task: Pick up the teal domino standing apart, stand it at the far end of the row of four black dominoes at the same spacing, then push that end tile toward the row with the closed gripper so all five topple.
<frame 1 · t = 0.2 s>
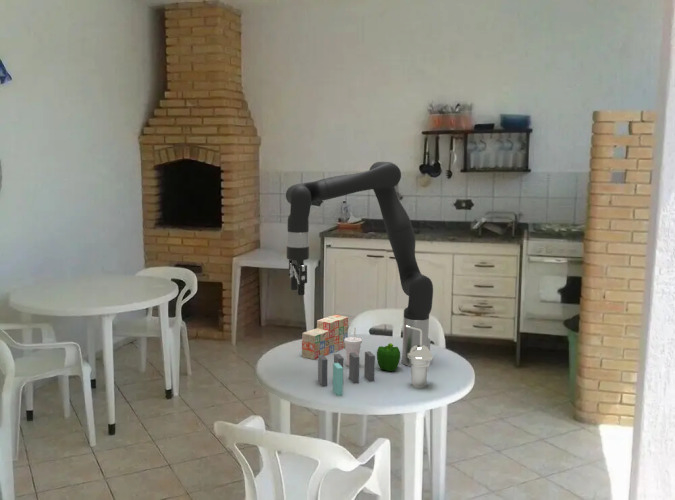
hand: (297, 292, 217), 29 cm above the table, tool pointing down, fingers open, 8 cm apart
domino 4: (322, 383, 213), on the table
bell pepper: (387, 369, 228), on the table
domino 3: (338, 382, 214), on the table
smoothie: (352, 365, 231), on the table
domino 1: (369, 379, 217), on the table
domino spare: (337, 392, 205), on the table
stack of blocks: (325, 352, 247), on the table
cup with straw: (418, 385, 213), on the table
domino 2: (353, 380, 216), on the table
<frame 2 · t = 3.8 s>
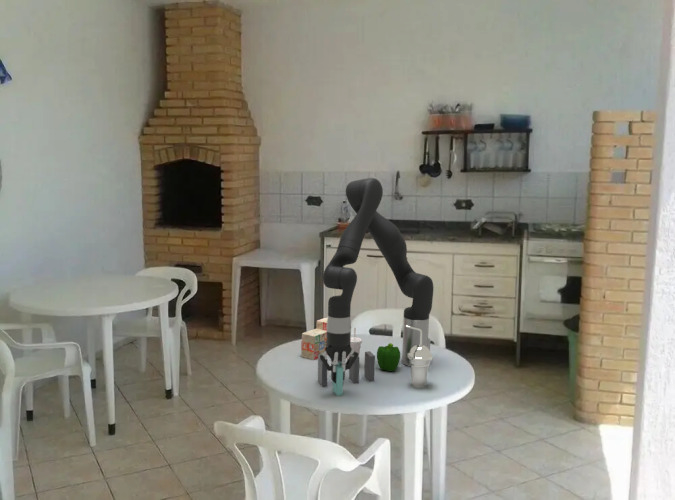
hand: (337, 381, 204), 4 cm above the table, tool pointing down, fingers closed on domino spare
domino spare: (337, 392, 205), on the table, touching gripper
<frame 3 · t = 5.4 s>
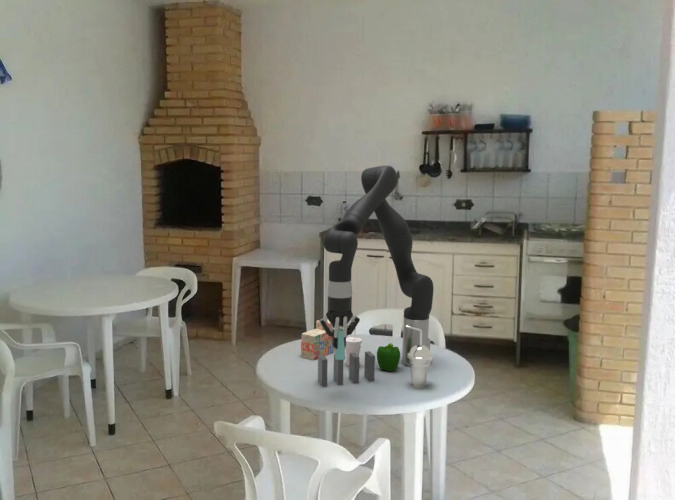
hand: (339, 347, 202), 15 cm above the table, tool pointing down, fingers closed on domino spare, 1 cm apart
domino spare: (340, 359, 202), point 11 cm above the table, tilted 16°, touching gripper
everything else where it was.
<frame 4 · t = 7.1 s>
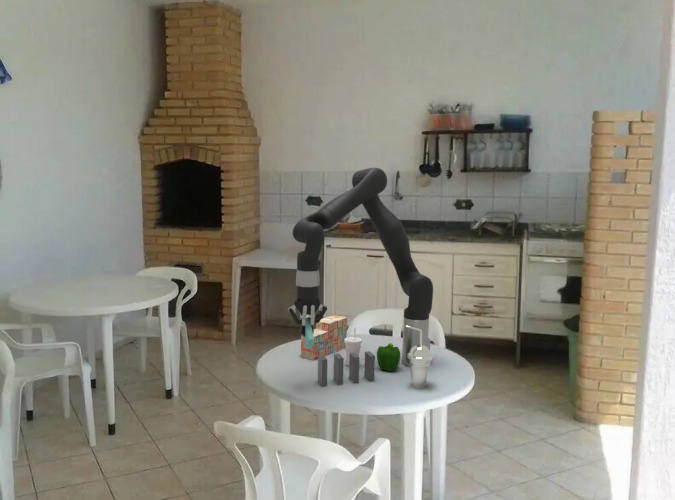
hand: (306, 335, 208), 17 cm above the table, tool pointing down, fingers closed on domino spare, 1 cm apart
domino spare: (310, 344, 205), point 15 cm above the table, tilted 55°, touching gripper
everything else where it was.
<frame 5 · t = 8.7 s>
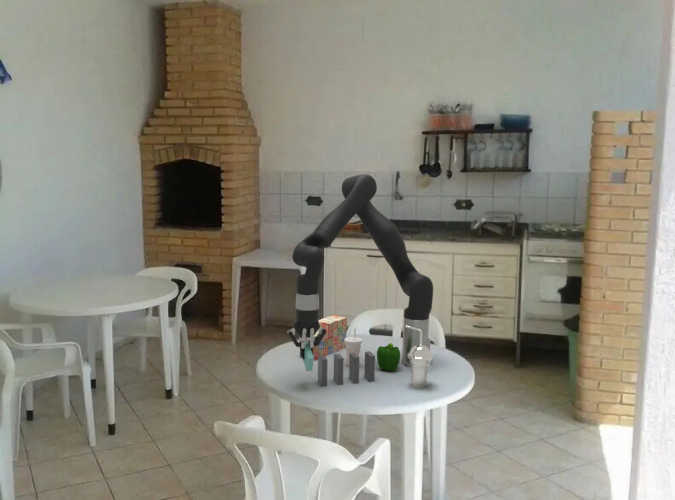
hand: (306, 358, 210), 9 cm above the table, tool pointing down, fingers closed on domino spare, 1 cm apart
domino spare: (310, 364, 205), point 9 cm above the table, tilted 70°, touching gripper
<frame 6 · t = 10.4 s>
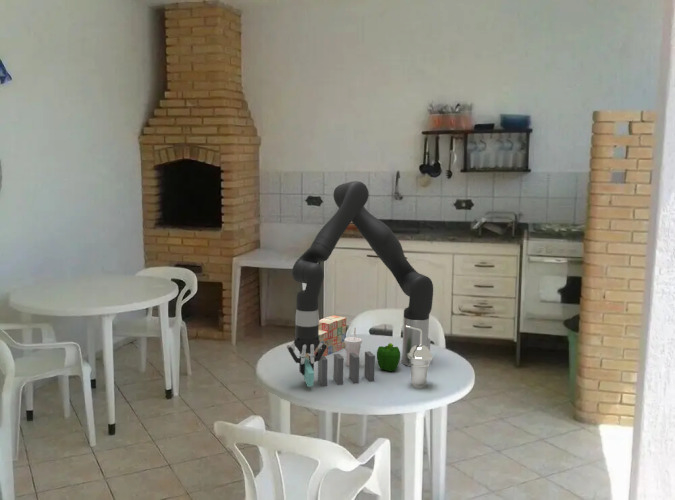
hand: (306, 373, 210), 4 cm above the table, tool pointing down, fingers closed on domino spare
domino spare: (310, 379, 205), point 4 cm above the table, tilted 77°, touching gripper
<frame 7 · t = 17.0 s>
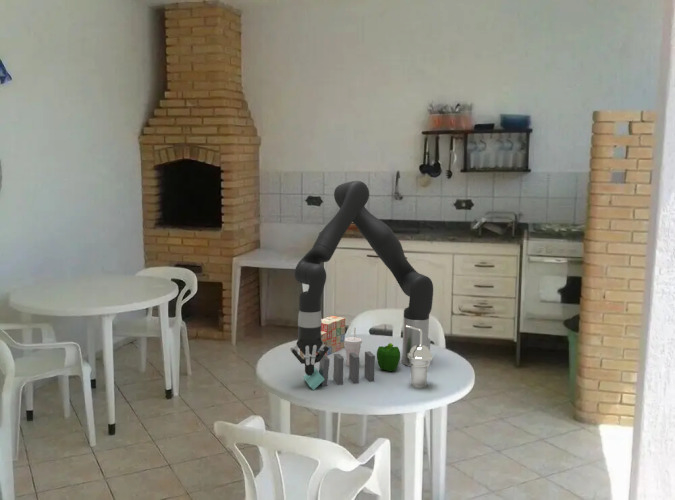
hand: (309, 374, 211), 3 cm above the table, tool pointing down, fingers closed
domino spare: (317, 383, 207), point 2 cm above the table, tilted 90°
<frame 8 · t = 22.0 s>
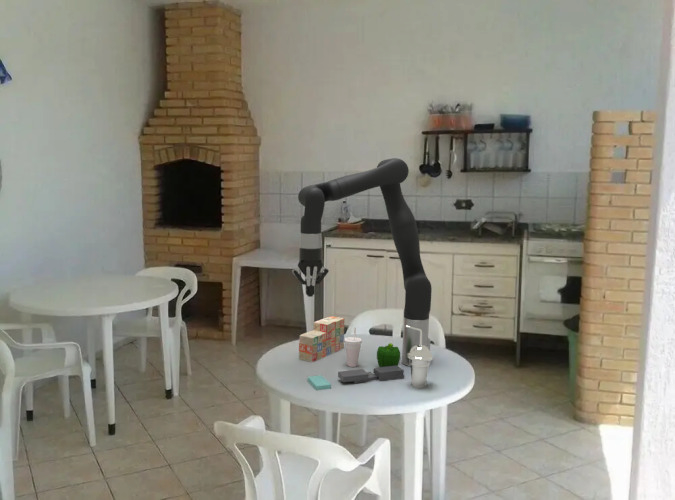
hand: (309, 296, 219), 27 cm above the table, tool pointing down, fingers closed
domino 4: (340, 376, 213), point 2 cm above the table, tilted 90°, touching domino 3
domino 3: (350, 380, 215), on the table, tilted 90°, touching domino 4
domino 1: (376, 377, 218), on the table, tilted 90°, touching domino 2
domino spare: (323, 388, 207), on the table, tilted 90°
domino 2: (376, 372, 218), point 2 cm above the table, tilted 91°, touching domino 1
at the end: domino 1 tilted 90°; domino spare tilted 90°; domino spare inside the target area (6.8 cm from its centre), on the table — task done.
